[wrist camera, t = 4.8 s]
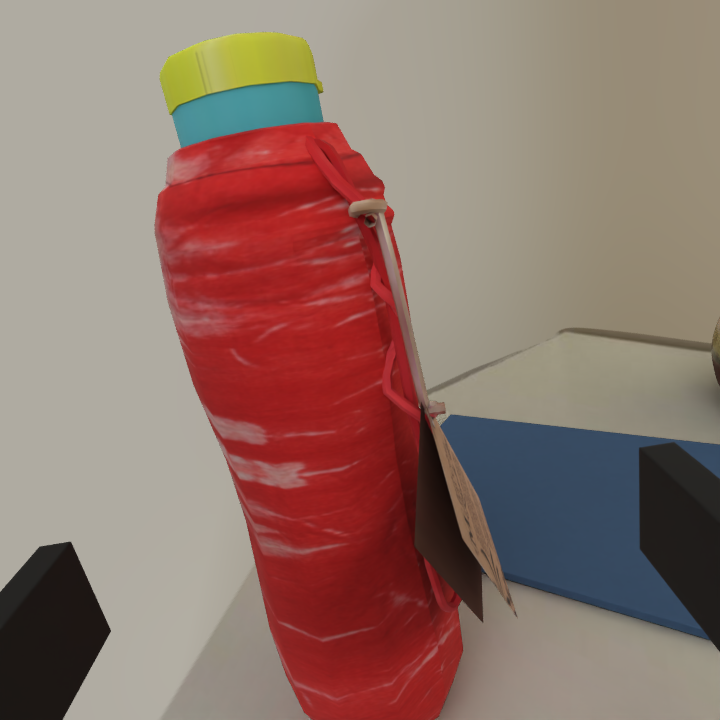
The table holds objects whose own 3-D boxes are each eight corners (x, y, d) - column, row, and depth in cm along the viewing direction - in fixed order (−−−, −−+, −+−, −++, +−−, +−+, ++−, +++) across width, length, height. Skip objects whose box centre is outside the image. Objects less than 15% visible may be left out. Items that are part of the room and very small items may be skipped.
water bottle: (594, 713, 20) (554, -59, 12) (479, 930, 15) (271, -155, 7) (373, 581, 28) (263, 86, 20) (254, 690, 23) (45, 91, 15)
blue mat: (347, 532, 33) (346, 526, 33) (451, 419, 45) (450, 414, 45) (796, 666, 20) (797, 656, 20) (773, 457, 32) (774, 450, 32)
